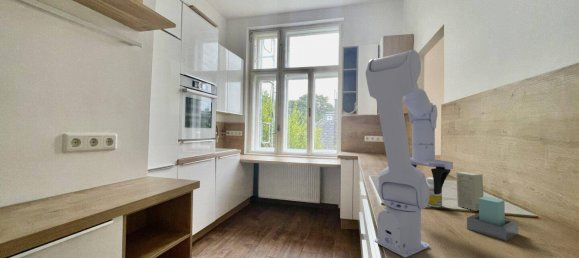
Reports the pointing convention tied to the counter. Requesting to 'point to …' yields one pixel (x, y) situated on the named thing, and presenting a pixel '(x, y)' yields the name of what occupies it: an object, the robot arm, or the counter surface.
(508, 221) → the socket
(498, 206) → the peg
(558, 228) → the counter surface
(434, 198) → the supplement bottle
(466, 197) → the skincare box
